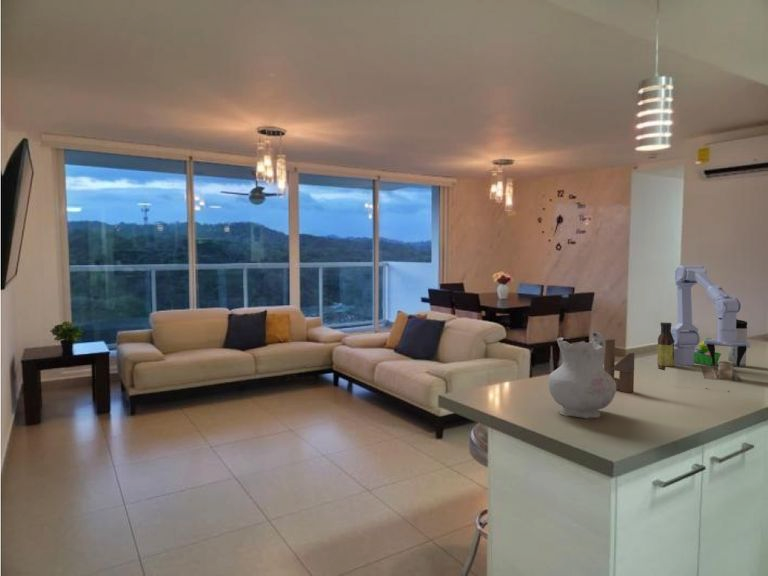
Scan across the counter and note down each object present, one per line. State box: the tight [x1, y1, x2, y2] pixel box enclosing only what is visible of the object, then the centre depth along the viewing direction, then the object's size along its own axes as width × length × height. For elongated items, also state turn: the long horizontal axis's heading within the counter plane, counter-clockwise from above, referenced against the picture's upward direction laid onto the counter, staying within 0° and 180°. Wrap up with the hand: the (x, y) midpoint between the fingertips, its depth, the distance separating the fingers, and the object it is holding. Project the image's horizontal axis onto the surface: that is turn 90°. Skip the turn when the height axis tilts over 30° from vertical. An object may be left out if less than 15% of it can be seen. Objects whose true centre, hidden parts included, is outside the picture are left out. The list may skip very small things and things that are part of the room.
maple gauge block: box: [717, 359, 734, 380], centre depth 191 cm, size 5×5×6 cm
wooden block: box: [603, 337, 635, 394], centre depth 181 cm, size 4×11×18 cm, turn 31°
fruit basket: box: [694, 337, 722, 366], centre depth 223 cm, size 11×9×11 cm
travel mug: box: [727, 318, 748, 368], centre depth 218 cm, size 6×7×20 cm
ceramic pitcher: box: [547, 330, 617, 420], centre depth 155 cm, size 22×20×25 cm
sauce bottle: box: [657, 321, 675, 370], centre depth 213 cm, size 6×6×20 cm
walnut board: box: [700, 366, 743, 383], centre depth 197 cm, size 12×22×2 cm, turn 150°
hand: (725, 364), depth 191 cm, fingers open, 7 cm apart
